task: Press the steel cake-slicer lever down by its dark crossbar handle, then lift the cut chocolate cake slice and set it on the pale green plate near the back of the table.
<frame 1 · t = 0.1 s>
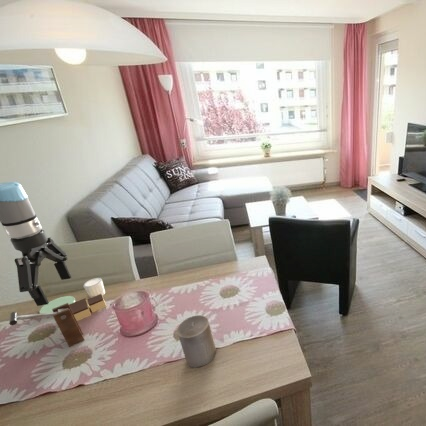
hand: (55, 290, 96), 25 cm above the table, tool pointing down, fingers open, 13 cm apart
cake: (79, 317, 120), on the table
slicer: (40, 315, 99), point 16 cm above the table, hinge at 25.0°
white ribbed ramekin: (98, 295, 134), on the table
pillar candle: (201, 356, 101), on the table
plate: (58, 306, 127), on the table
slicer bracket: (77, 342, 108), on the table
cake slice: (99, 308, 125), on the table
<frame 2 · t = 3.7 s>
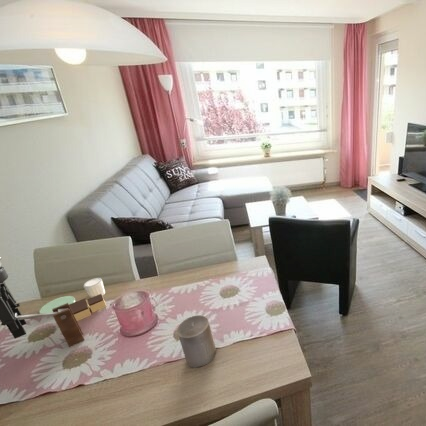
hand: (20, 330, 96), 14 cm above the table, tool pointing down, fingers closed on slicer, 5 cm apart
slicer: (40, 315, 99), point 16 cm above the table, hinge at 25.0°, touching gripper
everything else where it was.
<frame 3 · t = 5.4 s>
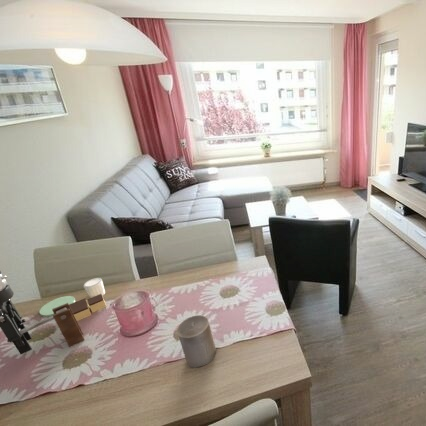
hand: (26, 345, 98), 8 cm above the table, tool pointing down, fingers closed on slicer, 5 cm apart
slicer: (41, 322, 99), point 14 cm above the table, hinge at -3.7°, touching gripper
everything else where it was.
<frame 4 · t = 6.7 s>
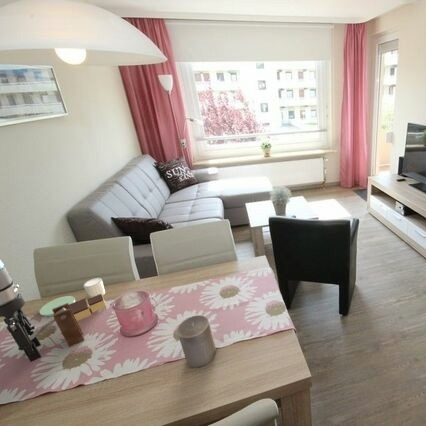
hand: (35, 352, 101), 3 cm above the table, tool pointing down, fingers open, 6 cm apart
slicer: (46, 326, 100), point 12 cm above the table, hinge at -23.6°
everything else where it was.
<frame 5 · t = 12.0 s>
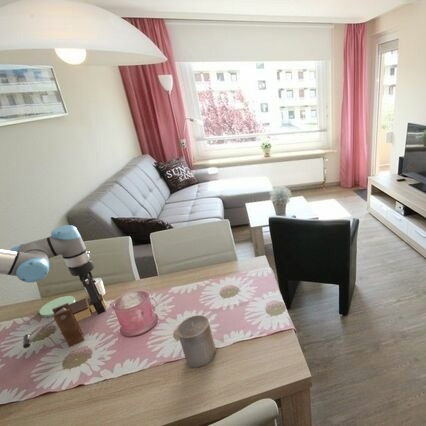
hand: (99, 304, 124), 2 cm above the table, tool pointing down, fingers open, 13 cm apart
white ribbed ramekin: (98, 295, 134), on the table, touching gripper
everything else where it was.
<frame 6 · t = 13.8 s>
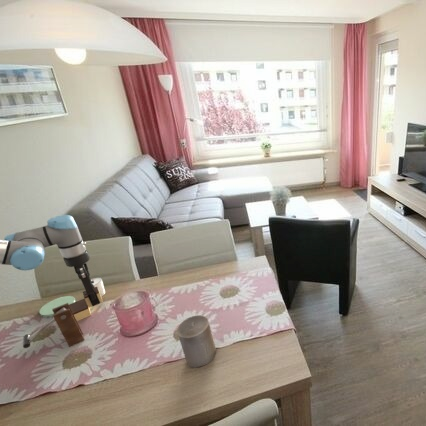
hand: (95, 301, 123), 4 cm above the table, tool pointing down, fingers closed on cake slice, 5 cm apart
white ribbed ramekin: (98, 295, 134), on the table
cake slice: (95, 301, 123), point 4 cm above the table, touching gripper
everything else where it was.
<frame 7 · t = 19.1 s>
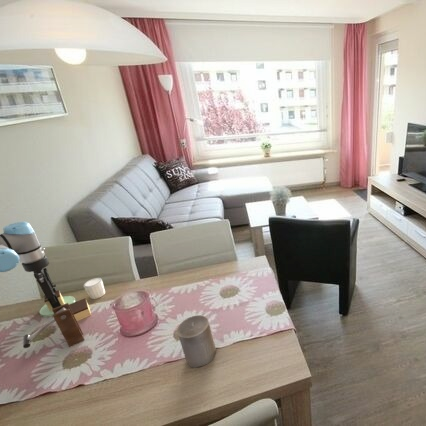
hand: (57, 304, 126), 1 cm above the table, tool pointing down, fingers closed on cake slice, 5 cm apart
cake slice: (56, 305, 126), point 1 cm above the table, touching gripper
everything else where it was.
when the fingers open (2 cm above the table, at t = 22.9 s): cake slice stays where it is, resting on plate.
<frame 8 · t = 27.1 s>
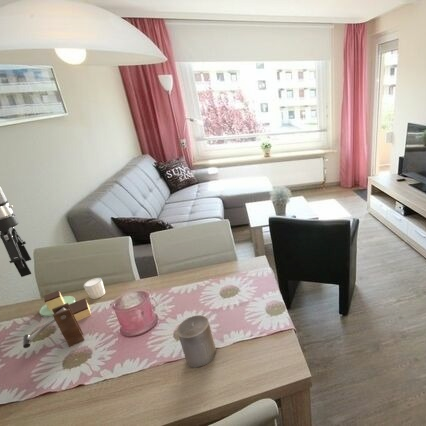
hand: (26, 267, 111), 25 cm above the table, tool pointing down, fingers open, 13 cm apart
cake slice: (56, 305, 126), point 1 cm above the table, touching plate
everything else where it was.
at the end: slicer at -24° (first picture: +25°); cake slice inside the target area on the plate (0.2 cm from its centre), point 1.0 cm above the plate's base; cake slice tilted 0° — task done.
